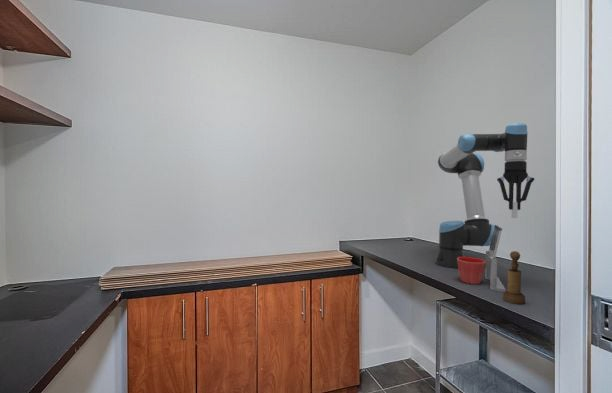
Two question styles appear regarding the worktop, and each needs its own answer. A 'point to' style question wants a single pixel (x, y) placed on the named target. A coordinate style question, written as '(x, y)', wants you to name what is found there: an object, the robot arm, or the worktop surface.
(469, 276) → the flower pot
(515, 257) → the brown tall piece
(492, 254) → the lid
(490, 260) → the hinge bracket
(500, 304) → the worktop surface
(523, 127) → the robot arm
